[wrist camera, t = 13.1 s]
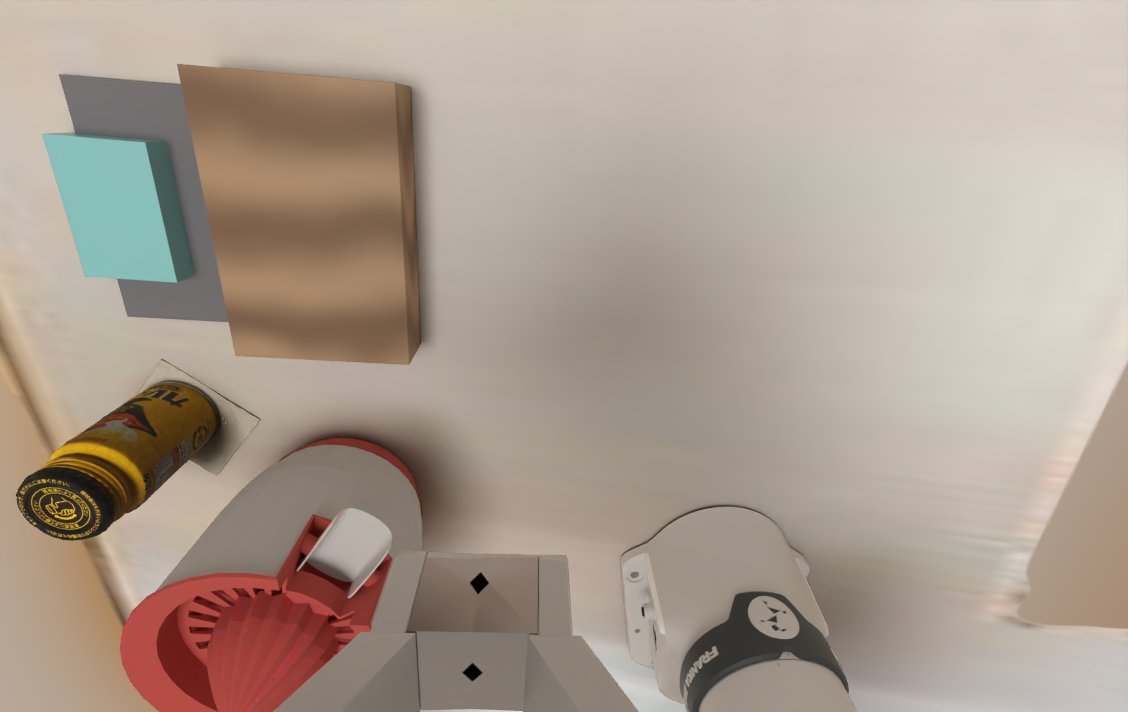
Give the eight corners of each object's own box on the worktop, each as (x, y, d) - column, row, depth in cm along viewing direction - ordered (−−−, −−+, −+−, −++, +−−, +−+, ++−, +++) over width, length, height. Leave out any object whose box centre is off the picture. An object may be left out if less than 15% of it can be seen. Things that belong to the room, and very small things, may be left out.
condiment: (161, 358, 41) (22, 445, 30) (261, 418, 43) (166, 519, 32) (122, 418, 43) (-23, 521, 32) (218, 473, 45) (116, 585, 34)
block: (85, 276, 35) (107, 268, 37) (177, 282, 36) (194, 274, 38) (42, 133, 32) (69, 133, 34) (145, 142, 32) (166, 141, 34)
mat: (254, 321, 40) (252, 323, 39) (130, 315, 39) (127, 316, 39) (212, 87, 33) (209, 87, 33) (62, 74, 33) (58, 74, 32)
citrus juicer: (488, 467, 46) (453, 694, 28) (379, 579, 51) (289, 833, 33) (332, 365, 41) (168, 556, 23) (229, 499, 46) (28, 743, 28)
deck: (421, 343, 41) (409, 364, 37) (263, 334, 40) (235, 355, 36) (410, 87, 34) (394, 82, 30) (217, 70, 33) (177, 63, 29)
